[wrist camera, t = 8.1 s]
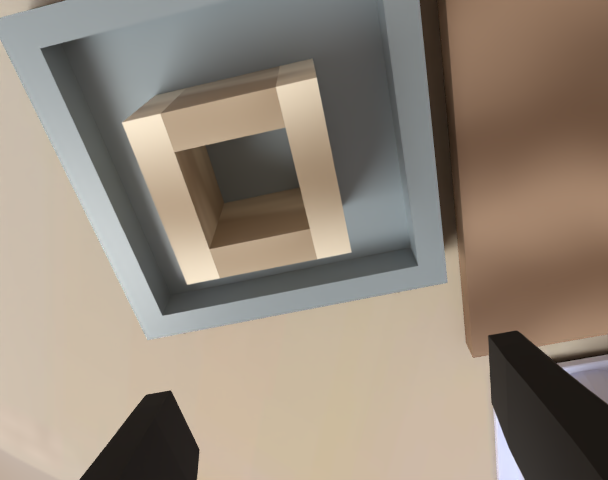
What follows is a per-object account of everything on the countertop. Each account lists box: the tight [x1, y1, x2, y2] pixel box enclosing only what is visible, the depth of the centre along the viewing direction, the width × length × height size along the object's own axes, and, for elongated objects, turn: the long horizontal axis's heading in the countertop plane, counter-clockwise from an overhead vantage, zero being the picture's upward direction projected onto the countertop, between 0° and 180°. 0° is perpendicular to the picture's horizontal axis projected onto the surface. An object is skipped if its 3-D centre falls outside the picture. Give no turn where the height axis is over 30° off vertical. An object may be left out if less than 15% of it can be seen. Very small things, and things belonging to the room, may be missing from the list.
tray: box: [0, 0, 448, 340], centre depth 17 cm, size 12×12×2 cm
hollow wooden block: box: [122, 58, 351, 285], centre depth 16 cm, size 5×5×4 cm
